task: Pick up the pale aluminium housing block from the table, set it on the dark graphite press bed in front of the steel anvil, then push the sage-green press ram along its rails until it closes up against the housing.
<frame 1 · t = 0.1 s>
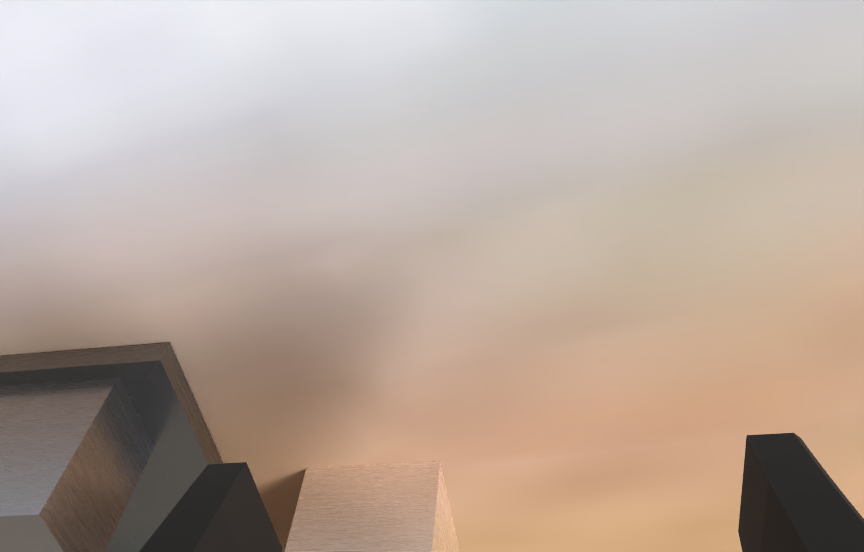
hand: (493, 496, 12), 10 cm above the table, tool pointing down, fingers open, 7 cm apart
housing: (385, 507, 28), on the table
press: (113, 540, 30), on the table
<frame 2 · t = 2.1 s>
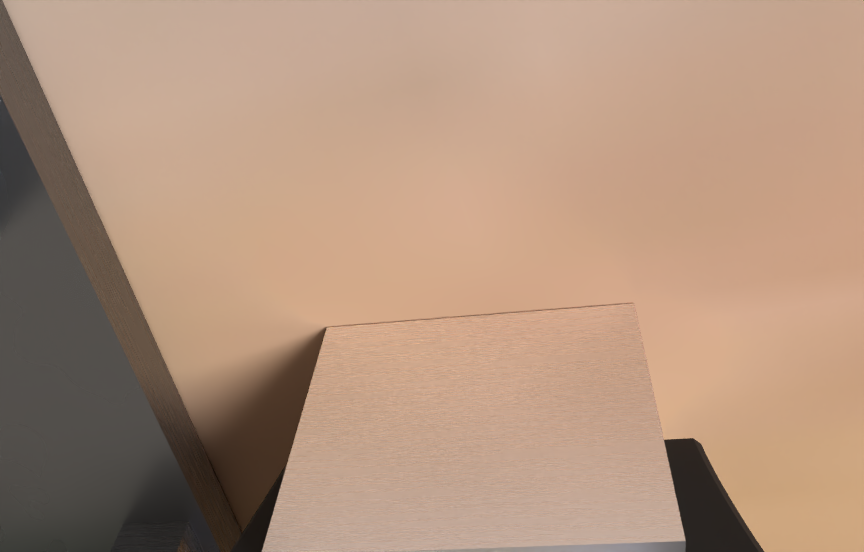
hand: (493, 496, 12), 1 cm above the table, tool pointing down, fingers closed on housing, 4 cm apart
housing: (493, 425, 13), on the table, touching gripper
when the fingers open (4 cm above the table, at t = 5.2 s): housing drops 1 cm, resting on press.
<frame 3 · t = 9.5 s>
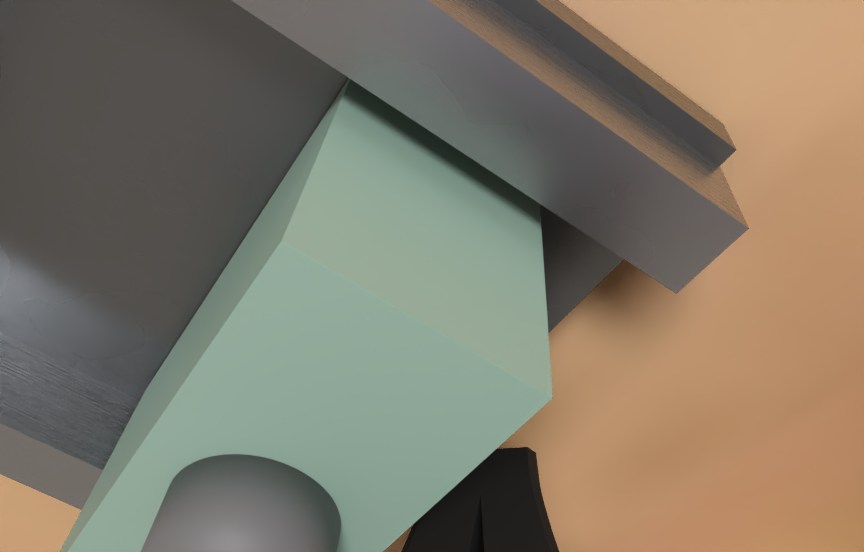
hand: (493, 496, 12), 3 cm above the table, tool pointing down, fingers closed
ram: (281, 426, 10), point 4 cm above the table, slide at 0.7 cm, touching gripper
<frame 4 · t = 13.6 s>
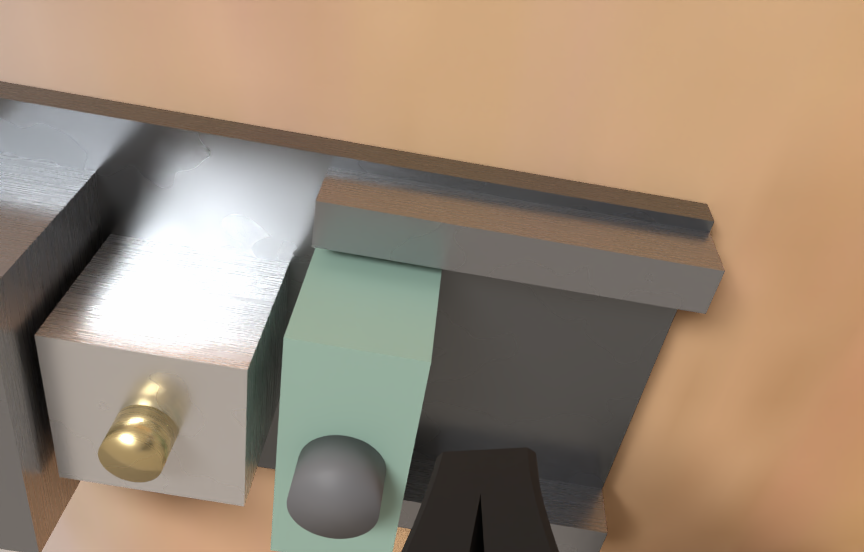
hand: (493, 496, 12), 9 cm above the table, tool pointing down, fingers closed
housing: (201, 318, 22), point 1 cm above the table, touching press
press: (319, 319, 22), on the table
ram: (351, 421, 19), point 4 cm above the table, slide at 5.0 cm
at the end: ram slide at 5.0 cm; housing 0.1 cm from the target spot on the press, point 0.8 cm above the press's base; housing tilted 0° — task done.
